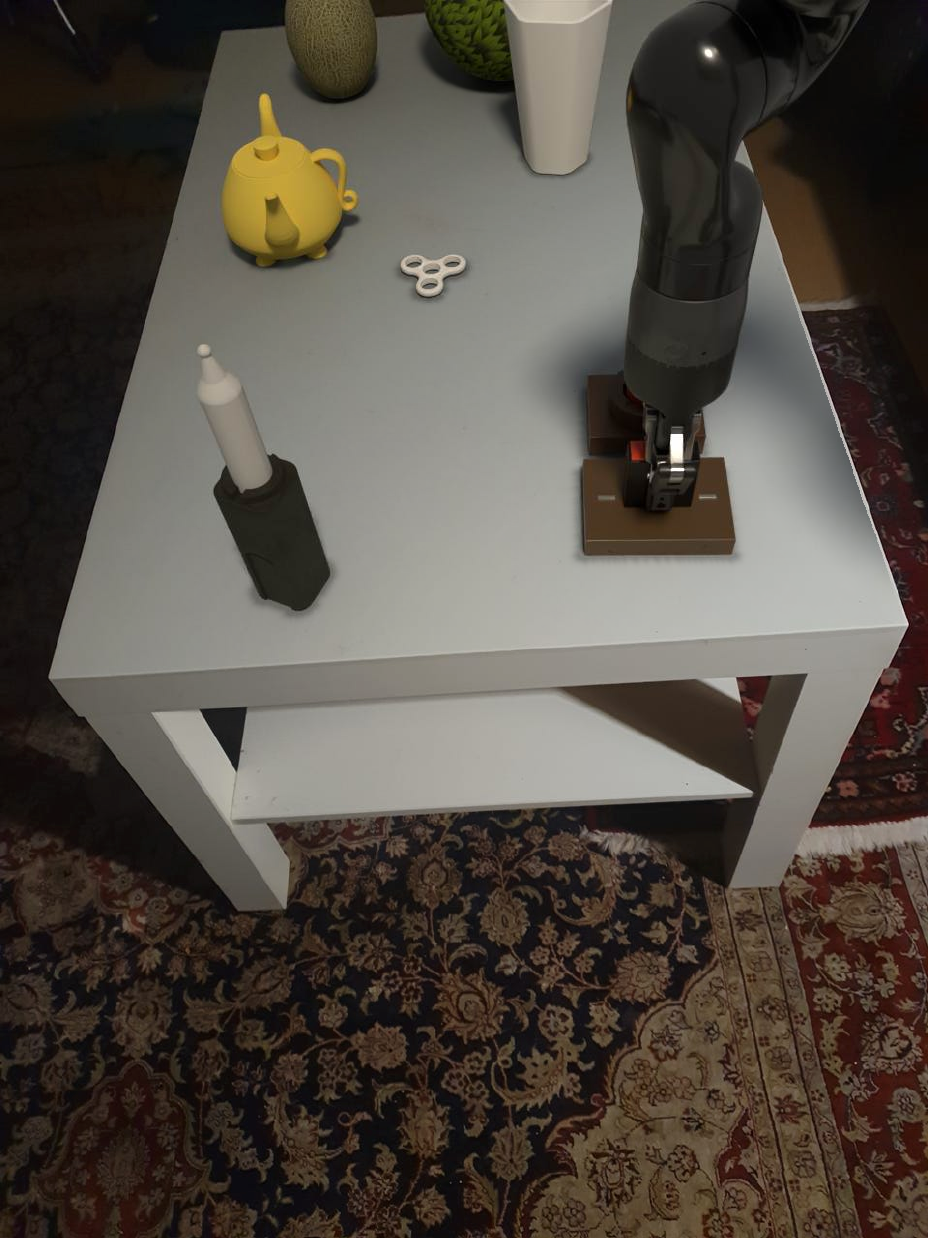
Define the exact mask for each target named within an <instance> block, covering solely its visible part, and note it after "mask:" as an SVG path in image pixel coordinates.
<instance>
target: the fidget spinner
mask: <svg viewBox="0 0 928 1238" xmlns="http://www.w3.org/2000/svg"><path fill="white" fill-rule="evenodd" d="M451 262H452V263H453V262H454V263H458V265H457V266H453V267H450V266H446V265H447V264H448V263H451ZM411 263H419V264H420V265H418V266H416V267H410V266H408V265H409V264H411ZM466 266H467V262H466V259H465V258H464V257H463V256H461V255H459V254H447V255H445V256H443V257H442V258H439V259H435V260H432V259H427V258H425V256H422V255H420V254H410V255H408V256H405V257H404V258H403V259H402V260H401V261H400V269H401V271H402V272H403V273H404V274H406V275H410V276H414V277H417V278H418V280H417V281H416V283H415V284H416V285H415V289H416V292H417V293H418V295H420V296H423V297H426V298H427V297H428V298H429V297H430V298H431V297H434V296H435V297H436V296H437V295H439V294H441V292H442V291H443V289H444V282H443V281H444V279H445V278H447V277H448V276H453V275H457V274H460V273H462V272H463V271H464V270H465V269H466ZM430 270H437V272H435V273H426V272H427V271H430ZM427 284H435V285H436V286H435V287H433V288H430V289H428V288H423V287H424V286H425V285H427Z"/></svg>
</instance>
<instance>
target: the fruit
mask: <svg viewBox="0 0 928 1238" xmlns="http://www.w3.org/2000/svg"><path fill="white" fill-rule="evenodd" d="M284 29H285V36H286V43H287V45H288V49H289V53H290V54H291V57H292V58H293V61H294V64H295V66H296V67H297V69H298V71H299V72H300V74H301V75H302V77H303V78H304V80H305V81H306V82H307V83H308V85H310V86H311V87H312V88H313V89H314V90H315V91H316V92H318V93H319V94H321V95H323V96H324V97H327V98H330V99H347V98H349V97H352V96H355V95H356V94H358V93H360V92H361V91H362V90H363V89H364V88H365V86H366V85H367V84H368V82H369V80H370V78H371V76H372V73H373V71H374V68H375V64H376V59H377V53H378V31H377V21H376V16H375V13H374V10H373V7H372V4H371V1H370V0H286V1H285V6H284Z"/></svg>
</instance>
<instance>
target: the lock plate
mask: <svg viewBox="0 0 928 1238" xmlns="http://www.w3.org/2000/svg"><path fill="white" fill-rule="evenodd" d="M700 460H701V462H700V467H699V472H698V476H697V481H696V486H695V491H694V496H693V500H692V505H691V507H673V508H672V509H670V510H647V509H646V507H624V497H623V483H624V473H625V464H626V458H584V459H582V470H581V471H582V473H581V475H582V477H581V478H582V510H583V511H582V512H583V514H582V515H583V545H584V549H583V551H584V556H698V555H700V556H704V555H705V556H709V555H711V556H713V555H715V556H717V555H719V556H721V555H722V556H724V555H726V556H727V555H731V556H732V554H733V551H734V548H735V544H736V540H737V538H736V531H735V523H734V517H733V510H732V503H731V496H730V489H729V483H728V474H727V469H726V467H727V466H726V462H725V461H726V460H725V457H724V456H711V457H710V456H709V457H707V456H706V457H701V456H700Z"/></svg>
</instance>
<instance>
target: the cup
mask: <svg viewBox="0 0 928 1238" xmlns="http://www.w3.org/2000/svg"><path fill="white" fill-rule="evenodd" d="M613 1H614V0H504V8H505V15H506V23H507V30H508V38H509V45H510V52H511V60H512V67H513V75H514V80H513V82H514V88H515V96H516V103H517V104H516V105H517V111H518V118H519V119H518V120H519V128H520V134H521V143H522V148H523V155H524V160H525V161H526V163H527V164H528V166H529V167H530V169H531V171H533V172H535V173H537V174H542V175H545V174H546V175H561V176H564V175H568V174H571V173H573V172H574V171H575V170H577V169H579V168H580V167H581V166H582V165H584V164H586V163H587V160H588V159H587V158H588V156H589V155H588V154H589V151H590V144H591V137H592V131H593V124H594V119H595V118H594V117H595V114H596V113H595V112H596V106H597V100H598V94H599V88H600V81H601V75H602V70H603V69H602V68H603V62H604V56H605V52H606V51H605V50H606V43H607V37H608V33H609V25H610V19H611V13H612V7H613Z"/></svg>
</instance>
